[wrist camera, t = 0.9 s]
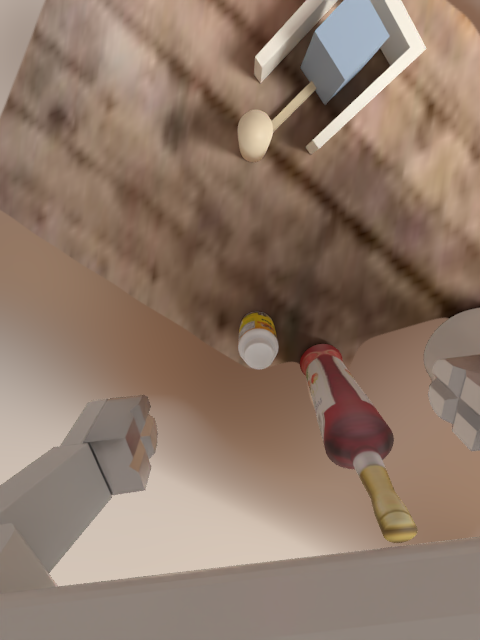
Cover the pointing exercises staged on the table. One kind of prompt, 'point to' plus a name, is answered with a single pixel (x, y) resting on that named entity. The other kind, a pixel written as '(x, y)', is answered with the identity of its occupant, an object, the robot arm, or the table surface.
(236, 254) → the table surface
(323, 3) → the white u-shaped wall
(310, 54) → the block
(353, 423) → the liquor
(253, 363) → the supplement bottle
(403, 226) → the table surface
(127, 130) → the table surface
